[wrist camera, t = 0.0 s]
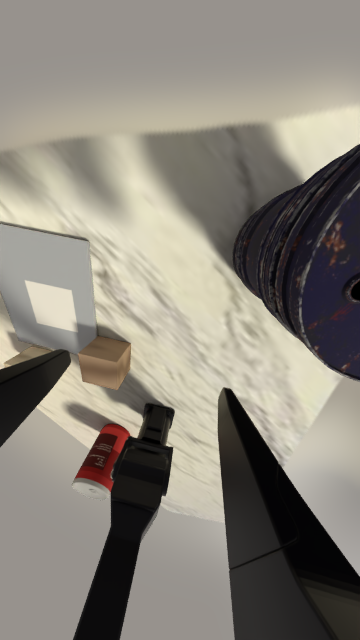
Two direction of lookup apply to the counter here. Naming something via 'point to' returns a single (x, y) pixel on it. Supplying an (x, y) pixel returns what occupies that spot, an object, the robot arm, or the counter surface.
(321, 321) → the black jar
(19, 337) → the build mat
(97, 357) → the walnut block
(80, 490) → the canned food
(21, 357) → the maple block
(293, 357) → the counter surface
